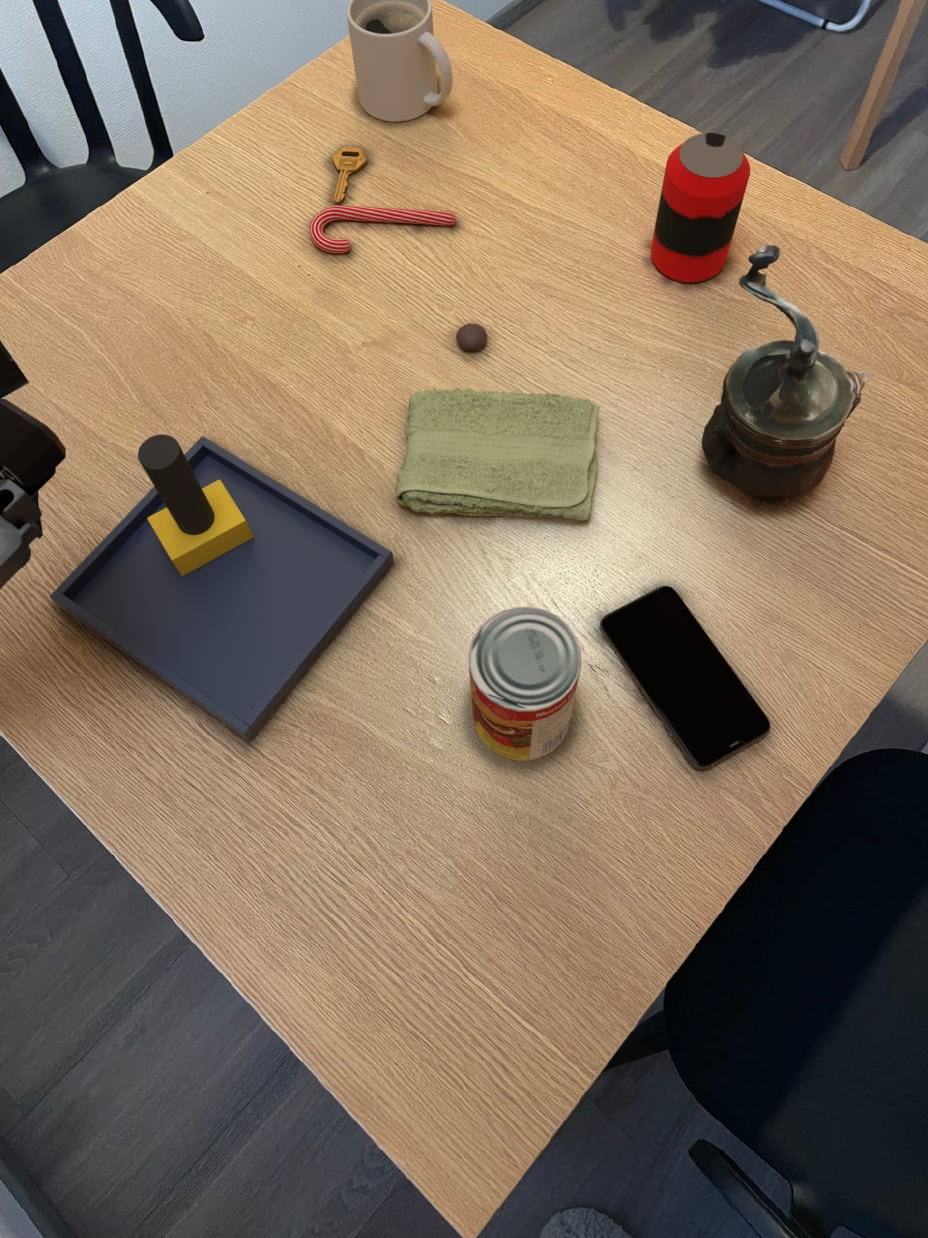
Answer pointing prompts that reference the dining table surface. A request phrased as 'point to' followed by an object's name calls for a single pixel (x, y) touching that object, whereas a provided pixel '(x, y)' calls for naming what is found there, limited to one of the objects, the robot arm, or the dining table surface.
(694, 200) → the soda can
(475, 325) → the chocolate truffle
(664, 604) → the smartphone
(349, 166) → the key
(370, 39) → the mug
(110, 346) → the dining table surface
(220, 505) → the sponge wand
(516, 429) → the washcloth
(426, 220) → the candy cane
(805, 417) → the coffee grinder
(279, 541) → the tray
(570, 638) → the canned food
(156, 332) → the dining table surface
